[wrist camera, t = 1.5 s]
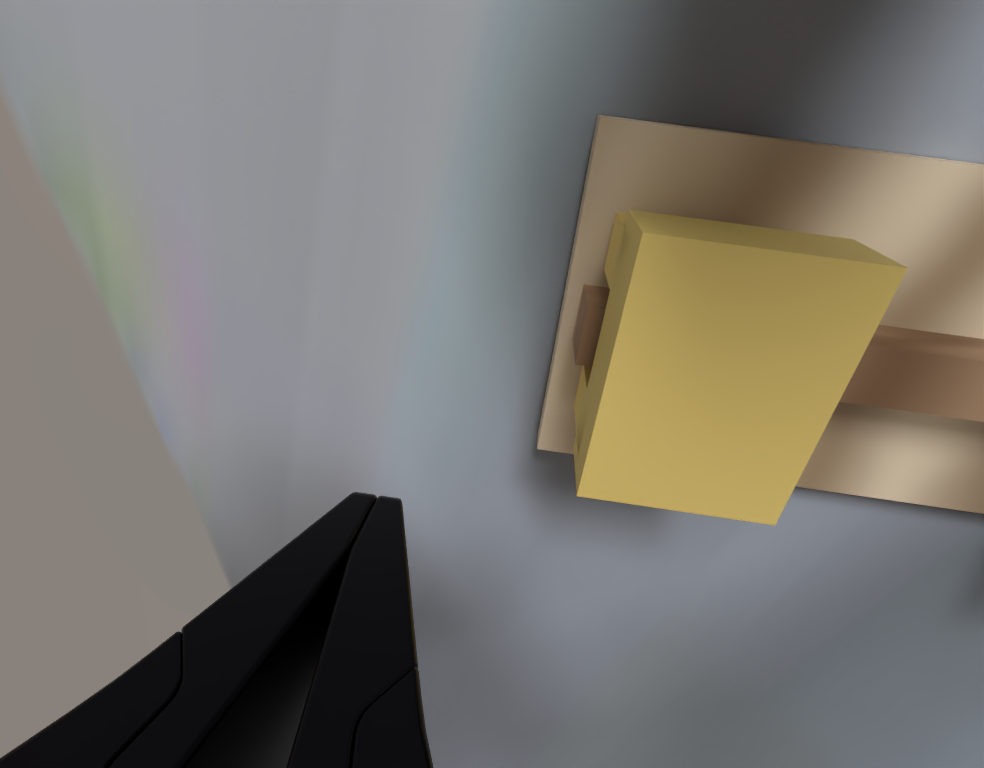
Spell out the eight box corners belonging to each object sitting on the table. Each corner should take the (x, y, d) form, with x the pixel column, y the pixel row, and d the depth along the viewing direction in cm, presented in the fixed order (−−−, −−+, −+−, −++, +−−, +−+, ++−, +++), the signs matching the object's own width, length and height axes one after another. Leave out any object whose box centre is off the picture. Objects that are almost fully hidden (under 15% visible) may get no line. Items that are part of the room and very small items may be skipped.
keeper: (820, 221, 16) (907, 267, 12) (731, 438, 20) (775, 525, 16) (620, 195, 16) (642, 232, 12) (571, 415, 20) (577, 496, 16)
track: (1379, 214, 16) (1789, 282, 10) (1100, 515, 22) (1273, 653, 17) (597, 114, 16) (620, 131, 11) (537, 434, 22) (533, 543, 17)
